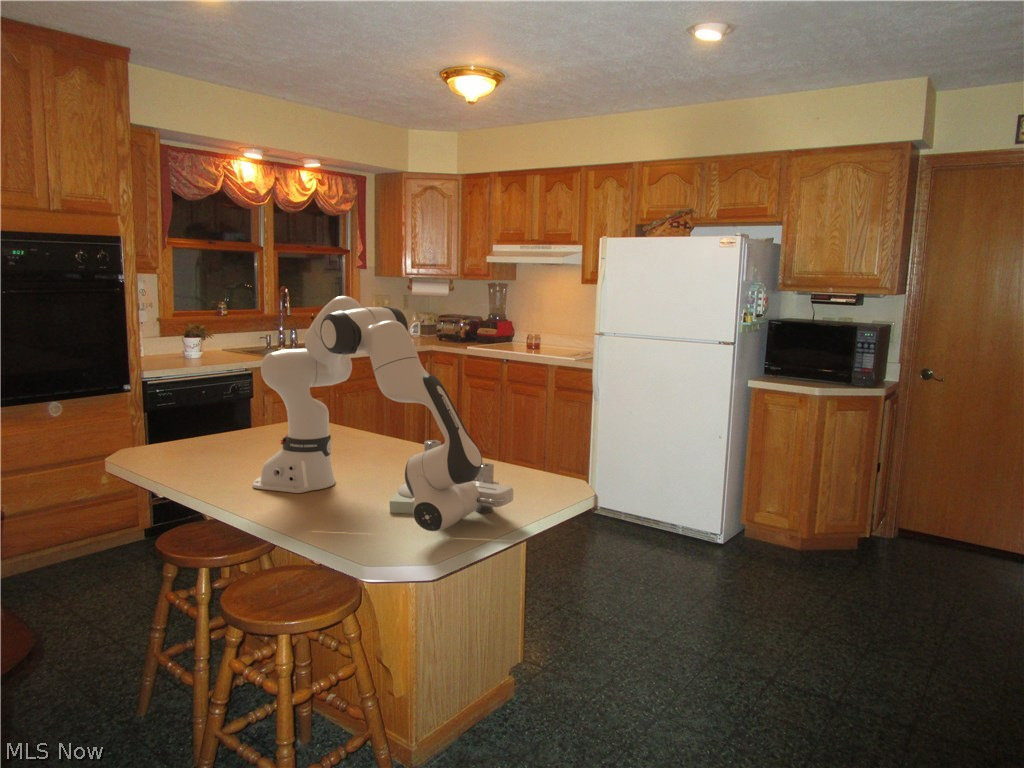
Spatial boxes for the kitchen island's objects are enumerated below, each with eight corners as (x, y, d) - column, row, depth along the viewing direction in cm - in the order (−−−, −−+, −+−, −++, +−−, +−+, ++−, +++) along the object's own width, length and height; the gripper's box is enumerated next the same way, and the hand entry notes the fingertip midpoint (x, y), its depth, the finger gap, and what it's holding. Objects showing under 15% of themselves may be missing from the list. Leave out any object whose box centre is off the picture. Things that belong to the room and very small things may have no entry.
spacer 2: (474, 512, 181) (475, 466, 179) (476, 507, 185) (477, 462, 184) (491, 513, 181) (492, 467, 179) (493, 508, 185) (494, 463, 183)
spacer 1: (422, 487, 189) (422, 443, 188) (425, 482, 194) (426, 439, 192) (439, 488, 189) (439, 444, 187) (441, 483, 193) (442, 440, 192)
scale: (389, 512, 180) (389, 498, 179) (403, 493, 195) (403, 481, 195) (440, 514, 179) (440, 501, 178) (450, 495, 195) (450, 483, 194)
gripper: (500, 491, 166) (523, 476, 178) (424, 479, 174) (451, 466, 186) (499, 517, 167) (523, 501, 179) (424, 504, 175) (451, 489, 187)
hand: (486, 483), depth 183 cm, fingers closed on spacer 2, 4 cm apart
